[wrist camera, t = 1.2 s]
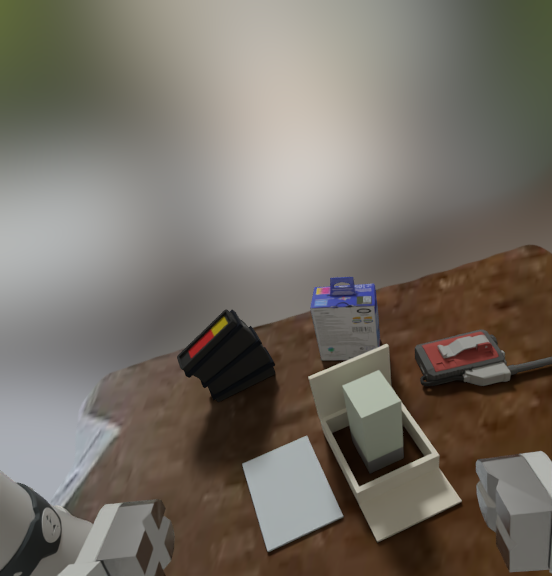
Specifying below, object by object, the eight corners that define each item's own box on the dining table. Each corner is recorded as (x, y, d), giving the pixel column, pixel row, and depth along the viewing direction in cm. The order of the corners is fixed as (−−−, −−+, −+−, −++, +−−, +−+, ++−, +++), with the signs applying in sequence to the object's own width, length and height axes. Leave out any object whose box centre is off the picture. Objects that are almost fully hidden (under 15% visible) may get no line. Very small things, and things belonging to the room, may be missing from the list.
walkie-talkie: (427, 402, 63) (563, 370, 62) (428, 383, 60) (570, 349, 59) (406, 357, 69) (528, 328, 69) (405, 339, 67) (532, 308, 66)
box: (369, 473, 56) (361, 418, 48) (352, 442, 60) (342, 385, 52) (403, 458, 57) (401, 400, 49) (384, 427, 60) (379, 369, 52)
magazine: (292, 361, 71) (235, 320, 62) (236, 413, 73) (171, 381, 63) (283, 346, 74) (227, 305, 64) (229, 397, 75) (166, 364, 66)
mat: (268, 552, 51) (267, 551, 51) (242, 465, 61) (242, 463, 60) (343, 517, 53) (343, 515, 52) (307, 437, 62) (306, 435, 62)
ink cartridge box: (380, 335, 73) (375, 270, 64) (381, 361, 69) (375, 295, 60) (323, 337, 76) (310, 274, 67) (320, 361, 72) (306, 298, 63)
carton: (377, 542, 50) (369, 494, 42) (322, 429, 62) (308, 376, 54) (461, 502, 51) (469, 448, 43) (390, 399, 64) (386, 343, 56)
